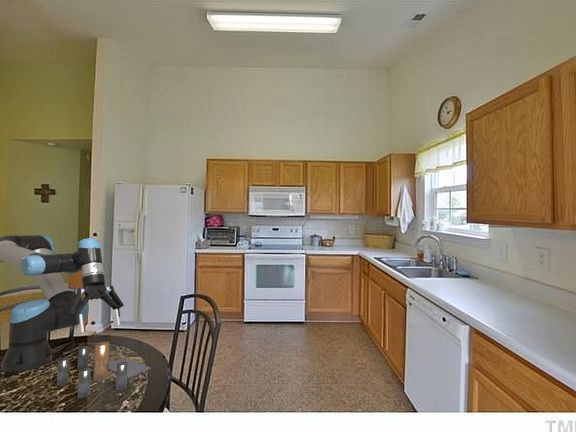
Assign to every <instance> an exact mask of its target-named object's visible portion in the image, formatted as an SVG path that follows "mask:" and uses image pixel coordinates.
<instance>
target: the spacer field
mask: <svg viewBox="0 0 576 432" xmlns="http://www.w3.org/2000/svg"><path fill="white" fill-rule="evenodd" d="M89 348H90V347H89V345H83V346H79V347H78V349H77V350H78V351H77V371H78V382H77V383H78V385H77V398H79V399H84V398H87V397H89V396H90V395H91V377H92V376H91V375H92V369H91V367H89V365H88V364H89ZM127 365H128V363H127V362H120V363H118V364H117V372H116V373H115V374H116V376H115V377H116V378H115V390H116V391H124V390H126V389H127V385H128V383H127V382H128V378H127ZM56 371H57V375H56V386H64V385H67V384H68V383H69V376H70V375H69V374H70V373H69V372H70V357H63V358H62V357H61V358H59V359H57V370H56Z"/></svg>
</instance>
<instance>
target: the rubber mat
mask: <svg viewBox="0 0 576 432" xmlns="http://www.w3.org/2000/svg"><path fill="white" fill-rule="evenodd" d="M120 362H127V363H128V365H127V380H128V379H131V378H133V377H136V376H137V375H138V376H139V375H140V374H143V373H145V372H147V371H150V370H151V369H152V368H151V367H150V366H147V365H145V364H143V363H140V362H138V361H135V360H133V359H130V358H127V357H122V358H119V359H116V360H113V361H111V362H110V361H109V362H108V371H110V372H112V373H114V374H116V372H117V364H118V363H120Z"/></svg>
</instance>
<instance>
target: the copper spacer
mask: <svg viewBox="0 0 576 432" xmlns="http://www.w3.org/2000/svg"><path fill="white" fill-rule="evenodd" d="M109 358H110V342H109V341H100V342H97V343H95V344H94V360H93V362H94V363H93V381H95V382H100V381H105V380H107V379H108V377H109V370H108V363H110V359H109Z"/></svg>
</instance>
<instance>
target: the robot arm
mask: <svg viewBox="0 0 576 432" xmlns="http://www.w3.org/2000/svg"><path fill="white" fill-rule="evenodd" d="M54 245H55V243H54V242H53V240H52V238H51V237H50V236H48V235H43V234H42V235H41V234H34V235H33V234H32V235H28V234H27V235H25V234H23V235H19V234H18V235H11V234H10V235H4V236H0V263H7V264H9V265H12V266H15V267H17V268H18V267H19V268H20V271H21V272H22V274H23V275H24V276H26V277H28V276H33V277H34V278H35V281H36V282H37V284H38V287H39V289H40V290H41V291H42V295H44V298H45V299H38V300H31V301H26V302H23V303H20V304H17V305H16V306H14V307H13V308H12V309H11V311H10V317H9V320H8V321H9V331H8V347H7V349H6V351H5V354H4V356H3V358H2V361H1V366H0V370H1V372H3V373H20V372H26V371H30V370H34V369H38V368H41V367H43V366H45V365H48V364H49V363H50V362H52V359H53V352H52V349H51V346H50V344H49V341H48V334H49V333H50V332H53V331H57V330H61V329H65V328H69V327H75V326H76V332H77V335H80V334H81V335H82V333H84V332H85V331H84V322H85V321H86V320H87V318H88V315H89V311H90V303H89V301H90V300H91V301H92V300H99V299H100V300H101V301H104V303H106V304H107V305H108V307H110V308H111V309H112V311H111V315H112V321H113V327H114V328H117V327H119V326H121V324H120V317H121V310H120V309H121V308H122V307H124V306H125V305H124V303H123V302H122V300H121V298H120V297H119V296H118V294H117V293H116V291H115V289H114V285H109V286H106V285H105V284H106V280H105V275H104V272H105V271H104V267H103V257H102V251H101V250H102V247H101V245H100V240H98V239H97V238H93V237H92V238H91V237H88V238H83V239H81V240H80V241H78V243H77V247H78V249H77V250H76V251H74V252H72V253H71V252H70V253H69V252H68V253H55V246H54ZM79 272H81V277H82V279H81V281H82V287H83V288H81V287H79V288H77V289H74V290H71V289H70V288H69V287H68V286H67V283H66V282H65V280H64V279H63V277H62V275H61V274H60V273H65V274H69V275H73V274H76V273H79ZM82 294H84V296H82Z"/></svg>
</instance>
